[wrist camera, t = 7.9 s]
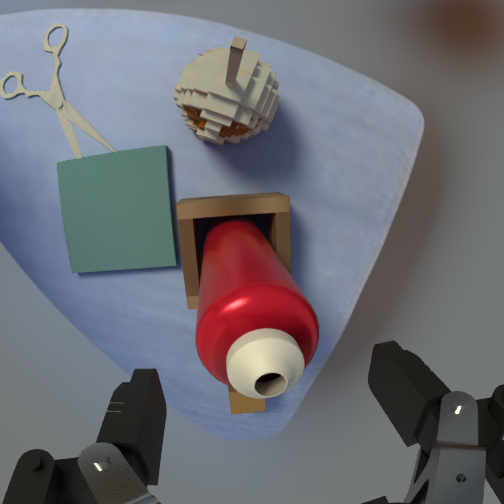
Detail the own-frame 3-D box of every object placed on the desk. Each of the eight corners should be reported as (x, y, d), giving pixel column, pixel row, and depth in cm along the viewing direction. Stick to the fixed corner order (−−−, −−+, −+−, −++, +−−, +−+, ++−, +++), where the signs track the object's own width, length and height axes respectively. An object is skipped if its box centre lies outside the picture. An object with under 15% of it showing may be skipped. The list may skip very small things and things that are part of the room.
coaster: (75, 270, 28) (72, 273, 27) (60, 162, 25) (57, 162, 24) (177, 262, 29) (176, 265, 28) (166, 145, 26) (165, 145, 25)
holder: (194, 313, 31) (191, 333, 27) (181, 199, 28) (176, 204, 24) (282, 306, 32) (290, 324, 28) (279, 192, 29) (289, 196, 25)
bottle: (241, 202, 28) (298, 285, 9) (273, 249, 30) (363, 385, 11) (193, 236, 29) (159, 372, 10) (226, 281, 30) (249, 449, 11)
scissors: (54, 12, 20) (149, 135, 25) (57, 14, 20) (151, 136, 26) (-11, 81, 20) (69, 210, 26) (-7, 82, 21) (72, 209, 27)
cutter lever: (219, 308, 28) (220, 316, 27) (258, 304, 29) (261, 312, 27) (230, 403, 31) (231, 414, 29) (263, 400, 32) (265, 410, 30)
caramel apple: (170, 129, 26) (124, 93, 11) (202, 55, 24) (194, -36, 10) (250, 157, 27) (289, 149, 13) (280, 82, 26) (342, 16, 11)
